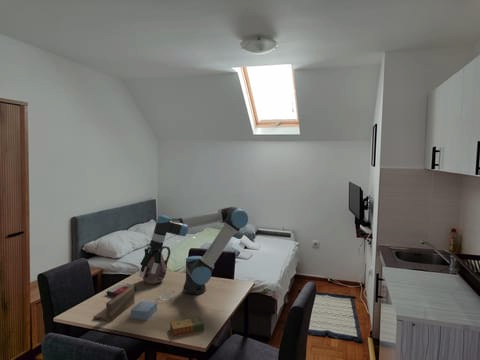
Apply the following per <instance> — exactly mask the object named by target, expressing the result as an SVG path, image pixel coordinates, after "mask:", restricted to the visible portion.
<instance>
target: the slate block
mask: <svg viewBox="0 0 480 360" xmlns="http://www.w3.org/2000/svg"><path fill="white" fill-rule="evenodd" d="M157 311H158V302H156V301H155V302H154V301H145V300H144V301H142V300H141V301H139V302H138V303H137V304H136V305H135V306H134V307H133V308H131V309H130V319H133V320H142V321H143V320H144V321H149V320H150V319H151V317H152V316H153V315H154V314H155V313H157Z"/></svg>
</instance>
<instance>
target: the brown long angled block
mask: <svg viewBox="0 0 480 360" xmlns="http://www.w3.org/2000/svg"><path fill="white" fill-rule="evenodd" d="M105 304H106V306H105V308H104V309H103V310H101V311H100V312H99V311H98V313H96V314H95V315H93V320H94V321H102V322H110V323H111V322H113V321H114V320H115V319H117V318H118V317H120V315H122V314H123V313H124V312H125V311H126V310H128V309H129V308H131V307H132V306H133V305H134V304H135V291H134V287H129V288H127V289H126V290H124V291H123V292H122V293H120V294H119V295H117V296H116V297H112V298H111V299H110V300H108V301H107V302H106V303H105Z"/></svg>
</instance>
